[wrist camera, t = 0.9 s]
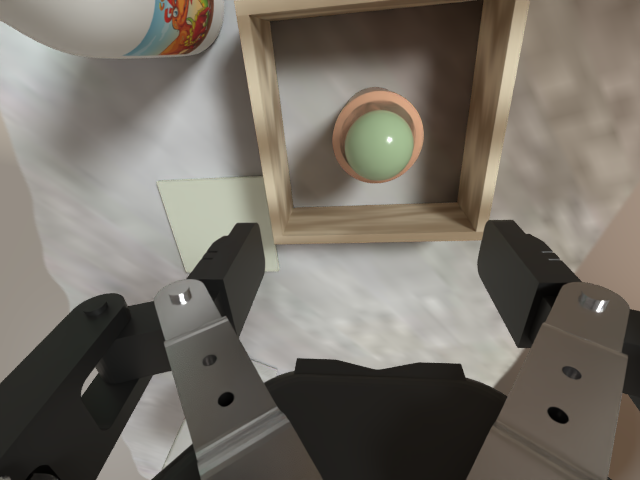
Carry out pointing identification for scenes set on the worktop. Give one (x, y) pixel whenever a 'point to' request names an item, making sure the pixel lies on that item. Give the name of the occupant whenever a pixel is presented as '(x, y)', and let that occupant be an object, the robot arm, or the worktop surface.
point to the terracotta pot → (377, 135)
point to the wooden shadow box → (397, 219)
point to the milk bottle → (118, 26)
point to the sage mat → (216, 214)
